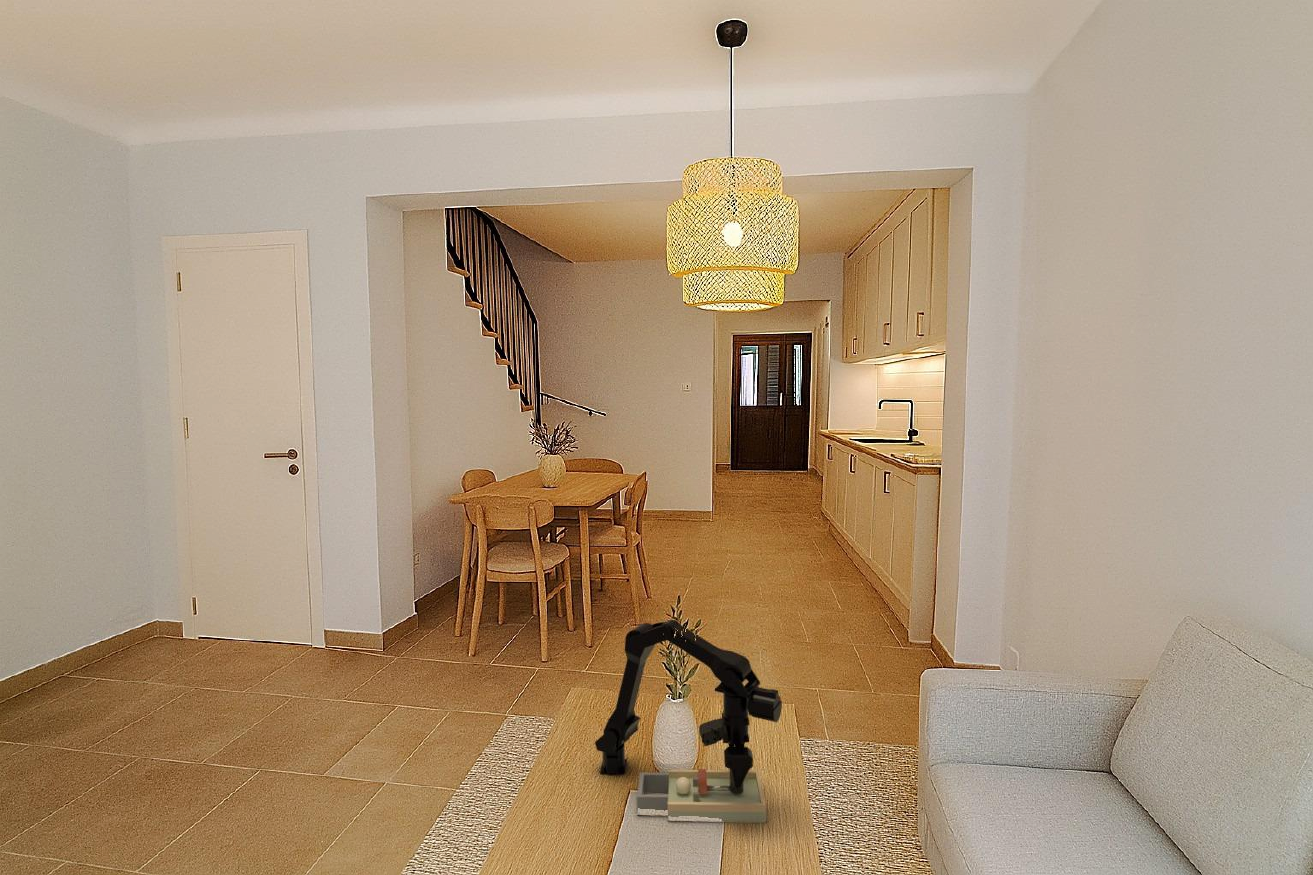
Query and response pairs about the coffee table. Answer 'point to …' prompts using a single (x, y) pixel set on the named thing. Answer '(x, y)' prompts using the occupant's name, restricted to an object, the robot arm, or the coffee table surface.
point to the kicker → (704, 787)
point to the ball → (683, 785)
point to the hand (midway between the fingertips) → (736, 776)
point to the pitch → (718, 798)
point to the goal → (653, 791)
